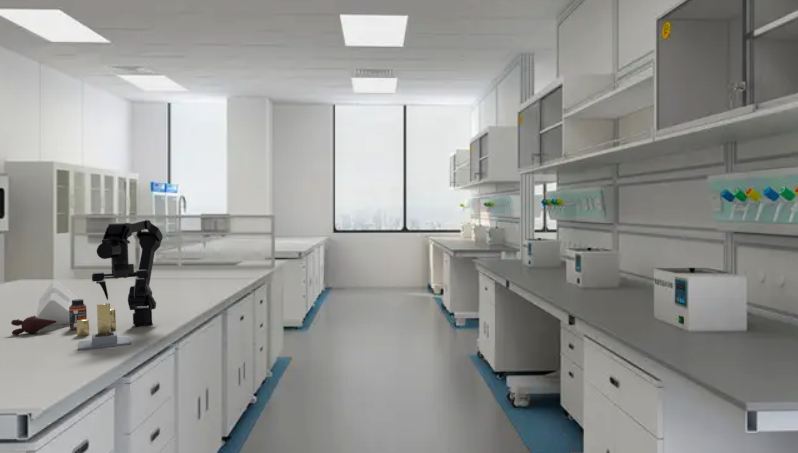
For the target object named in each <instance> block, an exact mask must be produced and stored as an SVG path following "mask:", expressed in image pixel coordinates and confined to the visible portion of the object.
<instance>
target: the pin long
mask: <svg viewBox="0 0 798 453" xmlns="http://www.w3.org/2000/svg"><path fill="white" fill-rule="evenodd" d="M110 309H111V304H110V303H109V302H108V303H99V304H96V314H97V334H98V337H103V336H111V332H112V331H111V318H110Z"/></svg>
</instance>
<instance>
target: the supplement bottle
mask: <svg viewBox="0 0 798 453" xmlns="http://www.w3.org/2000/svg"><path fill="white" fill-rule="evenodd" d="M87 316H88V315H87V305H86V304H85V303H84V299H82V298H80V299H79V298H78V299H76V300H72V305H71V306H70V307H69V321H70V323H69V330H72V331H73V330H74V331H75V330H76V331H77V320H82V319H88V317H87Z"/></svg>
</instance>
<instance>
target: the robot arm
mask: <svg viewBox="0 0 798 453" xmlns="http://www.w3.org/2000/svg"><path fill="white" fill-rule="evenodd" d="M134 233H136V237H137V239H138V240H139V241H138V244H139V246H140V249H141V253H140V254H141V255H140V259H139V266H138V269H136V270H135V266H134V265H135V264H134V263H129V244H131V241H130V240H129V238H130V237H131V236H132V235H133V234H134ZM163 236H164V235H163V233H162V231H161V230H160V228H159V227H158V226H156V225H155V224H153V223H152V222H151V220H149V219H136V220H134V221H130V222H111V223H108V226H107V227H106V230H105V233H104V234H103V237H102V240H101V243H100V244H99V245H98V247H97V249H96V254H97V256H98V258H100V259H102V260H106V259H107V260H108V259H110V260H111V261H110V262H111V273H105V272H104V271H100V272H93V273H92V274H91V282H95V283H96V284H99V286H100V287H101V288H102V291H103V293H104V295H105V299H106V300H107V301H108V300H109V293H108V289H107V288H108V287H107V285H106V284H107V283H106V280H108V279H122V278H123V279H127V278H134V279H135V280H134V285H133V286H132V285H131V286H130V288H129V292H128V295H127V302H128V303H127V304H128V308H129V310H130V311H133V313H132V323H133V325H134V327H141V326H152V325H154V323H153V310H156V309H157V308H156V307H157V302H156V300H155V299H154V297H153V291H152V289H151V287H150V282H151V276H152V272H153V265H154V259H155V254H156V251H157V250H158V249H159V248H160V247H161V244H162V241H163Z"/></svg>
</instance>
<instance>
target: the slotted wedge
mask: <svg viewBox="0 0 798 453" xmlns="http://www.w3.org/2000/svg"><path fill="white" fill-rule="evenodd" d="M76 299H79V297H78V295H76V294H75V293H73V292H72V291H71V290H69V289H68V288H67V287H65V285H63V284H62V283H60V281H58V280H54V281H52V282H51V284H50V285H49V286H48V288H47V289H46V291H44V293H43V295H41V297H39V300H38V301H39V302H38V306H37V311H36V315H35V316H36V317H37V318H41V319H48V320H54V321H56V323H54V324H51V325H50V326H52V325H64V324H70V321H69V307H70V306H71V305H72V300H76Z"/></svg>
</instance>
